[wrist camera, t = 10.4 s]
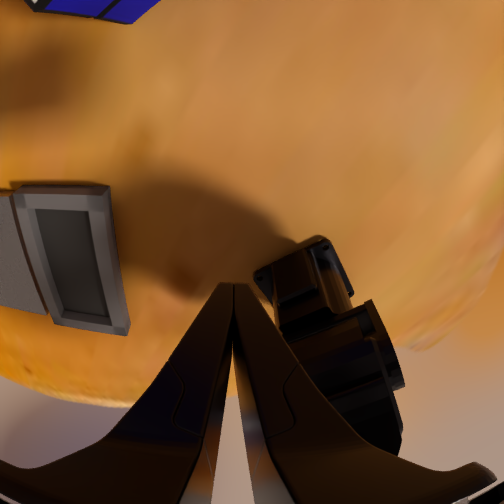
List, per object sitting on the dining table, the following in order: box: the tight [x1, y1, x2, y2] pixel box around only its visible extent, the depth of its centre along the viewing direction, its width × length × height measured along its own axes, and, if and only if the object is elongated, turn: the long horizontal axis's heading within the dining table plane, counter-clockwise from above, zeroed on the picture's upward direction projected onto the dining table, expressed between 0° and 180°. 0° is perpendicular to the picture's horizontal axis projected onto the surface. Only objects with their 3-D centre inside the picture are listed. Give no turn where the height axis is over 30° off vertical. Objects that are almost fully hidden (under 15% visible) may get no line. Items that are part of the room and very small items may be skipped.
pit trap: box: [13, 185, 131, 336], centre depth 22 cm, size 8×14×2 cm, turn 173°
